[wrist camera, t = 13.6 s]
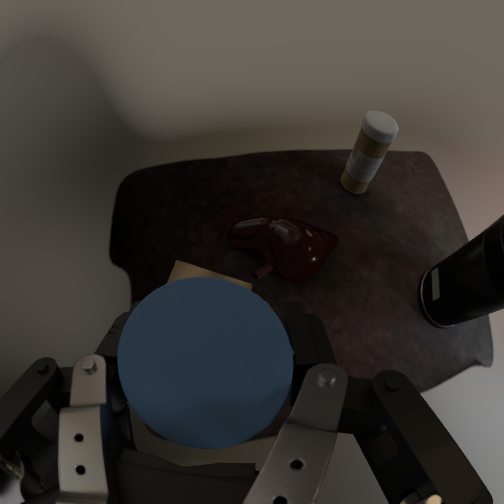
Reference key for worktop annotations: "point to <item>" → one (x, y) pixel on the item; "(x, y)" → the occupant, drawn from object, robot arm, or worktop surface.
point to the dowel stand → (199, 274)
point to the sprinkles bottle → (369, 150)
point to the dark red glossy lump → (284, 246)
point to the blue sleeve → (205, 362)
